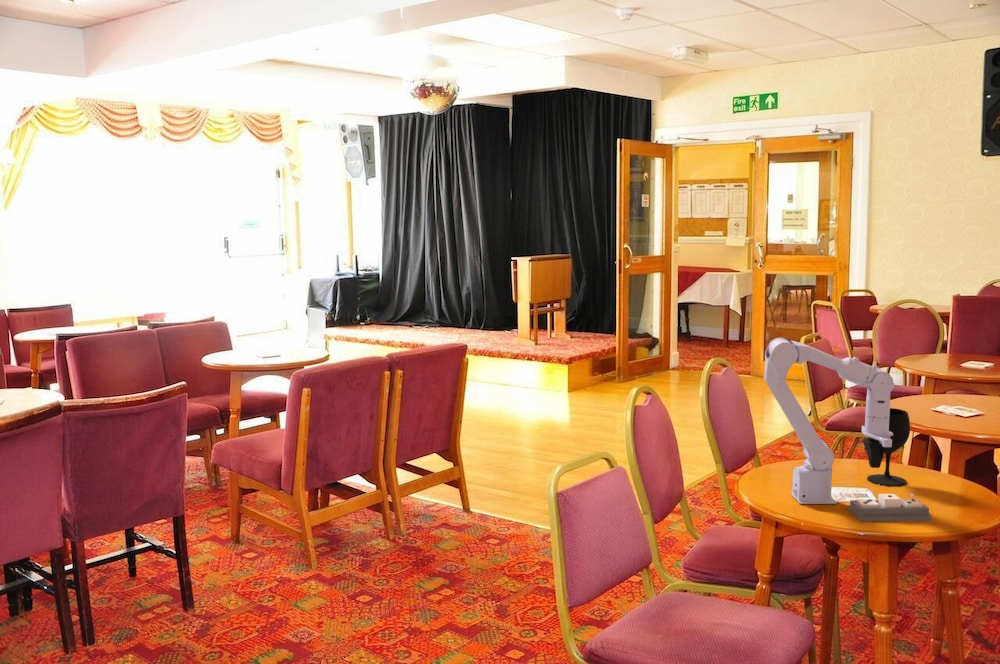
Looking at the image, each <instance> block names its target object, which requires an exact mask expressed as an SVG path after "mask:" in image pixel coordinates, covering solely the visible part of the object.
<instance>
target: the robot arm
mask: <svg viewBox="0 0 1000 664" xmlns="http://www.w3.org/2000/svg"><path fill="white" fill-rule="evenodd" d="M796 362H797V363H798V364H802V363H806V362H811V363H814V364H817V365H819V366H822V367H825V368H828V369H831V370H833V371H836V372H837V374H838V376H839V377H838V378H840V379H843V380H844V381H848V382H850V383H853V384H855V385H857V386H860V387H864V388H865V387H866V389H867V390H866V398H865V400H866V401H865V417H864V418H865V420H864V425H861V433H862V434H863V435H864V436H865V437H867V438H863V439H861V441H862V443H863V445H864V448H865V450H866V454H867V460H868V464H869V467H870V468H871V469H880V468H881V464H882V461H883V459H884V455H885V452H886V450H887V449H888V447H892V439H890V436H893V433H892V432H889V415H890V408H891V392H892V391H894V388H895V386H896V385H895V382H894V379H893V376H892V375H891V374H890V373H889V372H887V371H885V370H884V369H882V368H880V367H878V366H877V365H875V364H872V365H869V364H867V363H865V362H862V361H860V359H859V358H858V357H855V356H853V357H845V358H842V359H840V358H839V357H836V356H834V355H832V354H830V353H827V352H824V351H822V350H820V349H817V348H815V347H813V346H811V345H808V344H805V343H802V342H798V341H795V340H789V339H787V338H786V337H785V338H784V337H776V338H774V339H772V340H770V342H769V344H768V346H767V347H766V350H765V352H764V369H763V370H764V371H763V372H764V373H763V378H764V382H765V383H766V385H767V387H768V388H769V390H770V392H771V393H772V395H773V397H774V399H775V400H776V402H777V403H778V406H779V407H780V409H781V410H782V412H783V414H784V416H785V417H786V418H787V420H788V422H789V424H790V425H791V427H792V429H793V430H794V432H795V434H796V435H797V437H798V439H799V441H800V443H801V445H802V452H803V455H804V456H805V457H806V459H805V460H804V462H803V465H800V466H795V467H794V468H793V471H792V483H791V484H792V486H791V487H792V488H791V497H793V498H794V499H795V500H796V501H797V502H798V503H799V504H800V505H836V504H837V501H836V500H835V499H834V498H833V497H832V484H833V464H834V462H835V454H834V452H833V451H832V449H831V448H830V447H828V445H827V443H826V441H825V440H823V439H822V438H820V436H819V434H818V433H817V432H816V429H815V428H814V427H813V425H812V423H811V421H810V420H809V418H808V416H807V415H806V413H805V412H804V409H803V408H802V406H801V404H800V403H799V401H798V400H797V398H796V397H795V394H794V393H793V391H792V390H791V388H790V387H789V385H788V383H787V381H786V377H787V375H788V373H789V370H790V369H791V367H793V365H794V364H795V363H796Z"/></svg>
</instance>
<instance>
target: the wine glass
mask: <svg viewBox="0 0 1000 664" xmlns="http://www.w3.org/2000/svg"><path fill="white" fill-rule="evenodd" d="M889 432H892V433H893V436H890V439H892V447H888V449H887V450H886V452H885V454H884V455H885V470H884V473H883V474H881V473H880V474H878V473H877V474H870V475H868V476H867V477H866V480H867V481H868V482H869V481H870V482H869V483H871V482H872V483H871V484H874V483H876V484H875V485H877V484H880V485H879V486H882V485H886V486H885V487H890V486H898V487H903V486H905V485H907V483H908V482H907V480H906V479H905V478H902V477H900V476H897V475H893V474H890V463H891V458H892V457H891V456H892V454H893V453H895V452H896V451H898V450H900V449H901V448H902V447H903V446H904V445H906V443H907V441H908V440H909V437H910V433H911V422H910V417H909V413H908V411H907V410H904V409H900V408H892V407H890V415H889Z"/></svg>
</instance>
